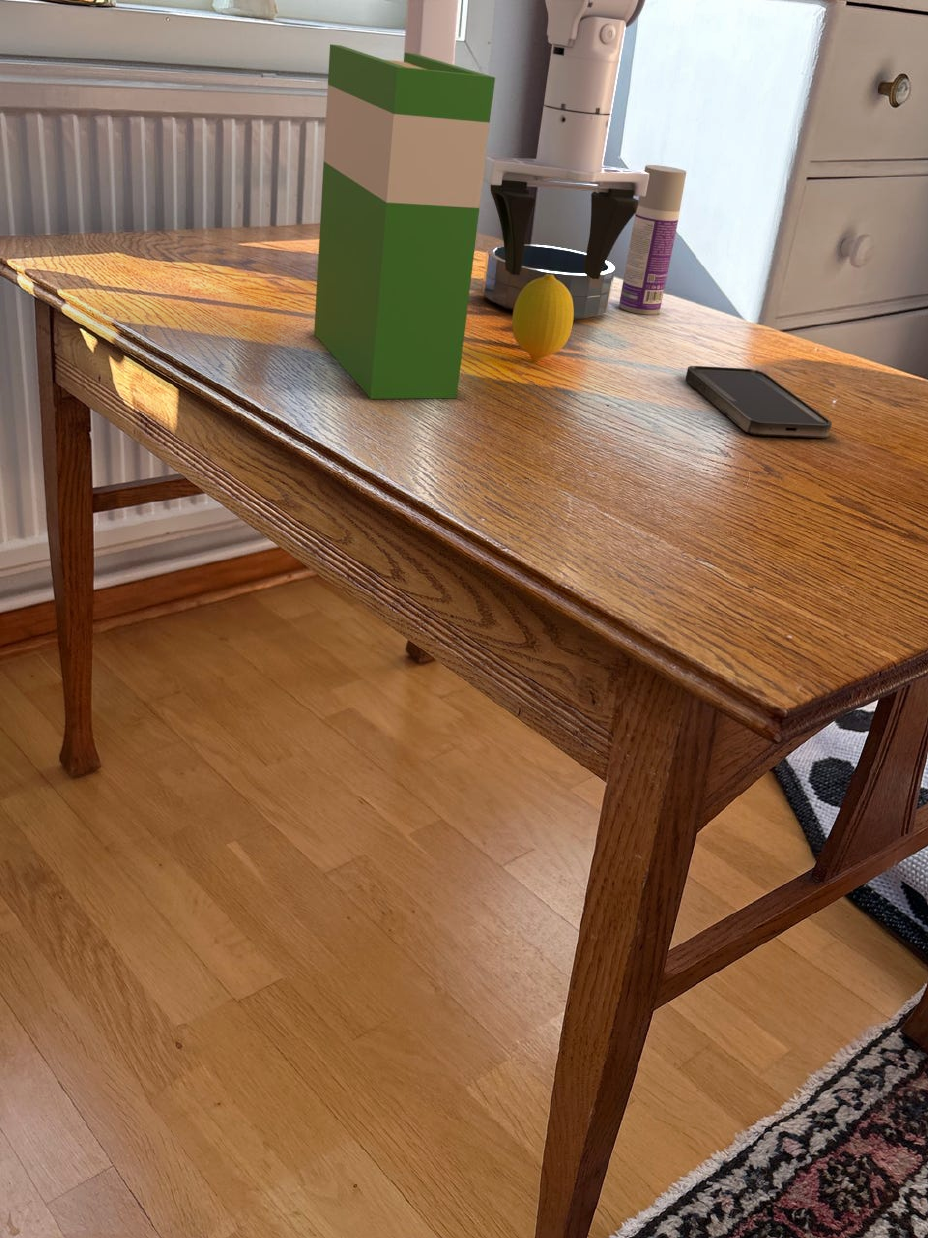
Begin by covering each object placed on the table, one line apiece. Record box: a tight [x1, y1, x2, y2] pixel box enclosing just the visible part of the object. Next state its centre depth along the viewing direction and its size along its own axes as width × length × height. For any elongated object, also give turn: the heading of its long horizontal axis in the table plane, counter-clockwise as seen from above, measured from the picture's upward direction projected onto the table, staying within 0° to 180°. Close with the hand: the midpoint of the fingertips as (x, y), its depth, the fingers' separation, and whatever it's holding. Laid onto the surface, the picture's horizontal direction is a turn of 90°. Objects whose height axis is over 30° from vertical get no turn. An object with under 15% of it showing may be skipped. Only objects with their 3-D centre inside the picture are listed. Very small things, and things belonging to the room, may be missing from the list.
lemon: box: [511, 274, 574, 363], centre depth 103 cm, size 6×6×8 cm
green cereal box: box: [313, 43, 496, 400], centre depth 93 cm, size 18×7×24 cm, turn 21°
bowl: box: [481, 243, 616, 321], centre depth 123 cm, size 14×14×5 cm
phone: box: [684, 365, 833, 439], centre depth 100 cm, size 8×1×15 cm
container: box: [618, 164, 687, 316], centre depth 124 cm, size 5×5×15 cm
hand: (552, 274), depth 101 cm, fingers open, 7 cm apart
